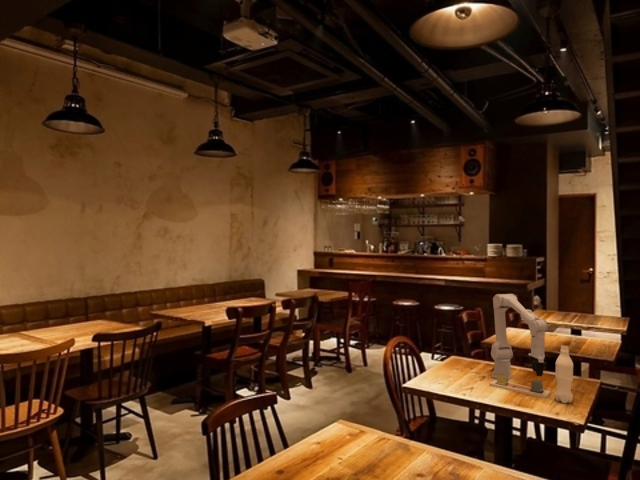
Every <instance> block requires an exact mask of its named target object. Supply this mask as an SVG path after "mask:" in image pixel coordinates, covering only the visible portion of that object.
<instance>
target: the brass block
mask: <svg viewBox="0 0 640 480" xmlns="http://www.w3.org/2000/svg"><path fill="white" fill-rule="evenodd" d="M496 380H497V384H498V385H503V386H507V385H508V382H509V379H508V374H505V373H498V374H497V378H496Z"/></svg>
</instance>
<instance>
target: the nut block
mask: <svg viewBox="0 0 640 480" xmlns="http://www.w3.org/2000/svg"><path fill="white" fill-rule="evenodd" d="M530 384H531V386H530V387H531V392H535V393H540V394H542V393H543V390H544V381H543V380H541V379H532V380H531V383H530Z"/></svg>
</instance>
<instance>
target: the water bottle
mask: <svg viewBox="0 0 640 480" xmlns="http://www.w3.org/2000/svg"><path fill="white" fill-rule="evenodd" d="M559 351H560V353H559V355H558V357H557V359H556V361H555V374H554V376H555V379H556V390H555V392H554V397H555V399H556V401H557V402H560V403H562V404H567V403H568V404H571V402H572V400H573V399H574V396H573V392H572V389H571V388H572V387H571V386H572V382H573V381H574V362H573V360H572V358H571V357H570V351H569V346H568V345H560V350H559Z"/></svg>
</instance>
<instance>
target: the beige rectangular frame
mask: <svg viewBox="0 0 640 480" xmlns="http://www.w3.org/2000/svg"><path fill="white" fill-rule="evenodd" d="M488 386H489V387H493V388H499V389H502V390H507V391H512V392H516V393H520V394H525V395H530V396H534V397H539V398H544V399H548V397H549V396H550V395H551V394H552V392H551V391H550V390H547V389H543V393H542V394H540V393H535V392H531V386H527V385H522V384H519V383H514V382H509V381H508V385H507V386H503V385H498V384H497V379H494V380H492V381H491V382H489V385H488Z"/></svg>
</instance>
